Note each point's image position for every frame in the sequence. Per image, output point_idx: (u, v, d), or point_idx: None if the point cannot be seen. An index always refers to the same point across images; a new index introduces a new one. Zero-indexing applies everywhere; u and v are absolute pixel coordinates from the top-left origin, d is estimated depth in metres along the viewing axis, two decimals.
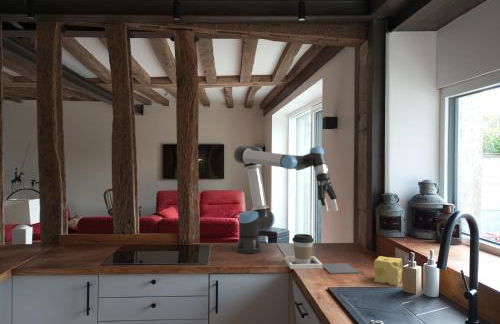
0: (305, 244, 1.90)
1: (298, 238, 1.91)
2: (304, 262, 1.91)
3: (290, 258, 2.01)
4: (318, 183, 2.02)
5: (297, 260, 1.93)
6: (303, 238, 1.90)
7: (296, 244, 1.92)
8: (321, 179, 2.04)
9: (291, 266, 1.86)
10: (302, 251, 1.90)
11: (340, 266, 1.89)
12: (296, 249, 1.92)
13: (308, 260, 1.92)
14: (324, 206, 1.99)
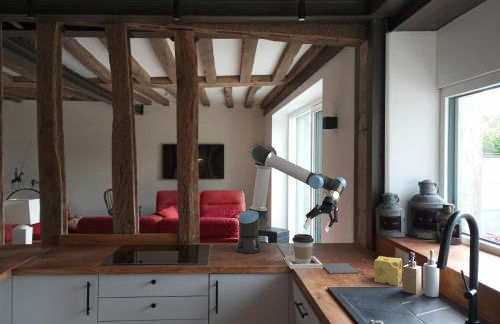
0: (305, 244, 1.90)
1: (298, 238, 1.91)
2: (304, 262, 1.91)
3: (290, 258, 2.01)
4: (336, 208, 2.05)
5: (297, 260, 1.93)
6: (303, 238, 1.90)
7: (296, 244, 1.92)
8: (334, 205, 2.09)
9: (291, 266, 1.86)
10: (302, 251, 1.90)
11: (340, 266, 1.89)
12: (296, 249, 1.92)
13: (308, 260, 1.92)
14: (328, 227, 1.98)
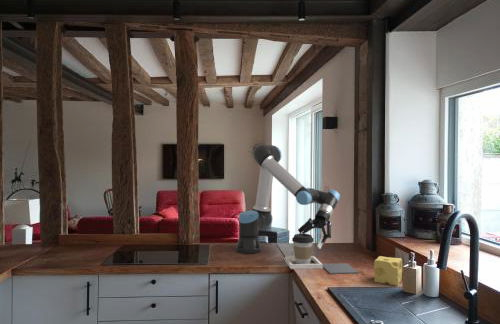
0: (305, 244, 1.90)
1: (298, 239, 1.91)
2: (304, 262, 1.91)
3: (290, 258, 2.01)
4: (330, 222, 1.99)
5: (297, 260, 1.93)
6: (303, 238, 1.90)
7: (296, 244, 1.91)
8: (327, 220, 2.02)
9: (291, 266, 1.86)
10: (302, 251, 1.90)
11: (340, 266, 1.89)
12: (296, 249, 1.92)
13: (308, 260, 1.92)
14: (321, 243, 1.92)
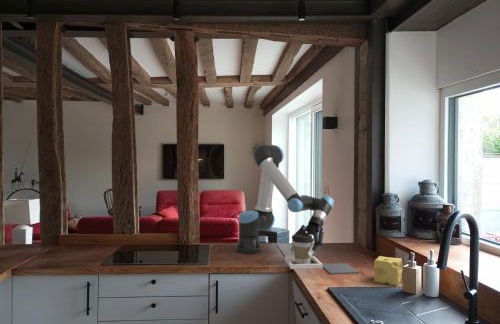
0: (305, 244, 1.90)
1: (298, 238, 1.91)
2: (304, 262, 1.91)
3: (290, 258, 2.01)
4: (322, 230, 1.96)
5: (297, 260, 1.92)
6: (303, 238, 1.90)
7: (296, 244, 1.91)
8: (320, 226, 1.99)
9: (291, 266, 1.86)
10: (302, 251, 1.90)
11: (340, 266, 1.89)
12: (296, 249, 1.92)
13: (308, 260, 1.92)
14: (312, 250, 1.90)
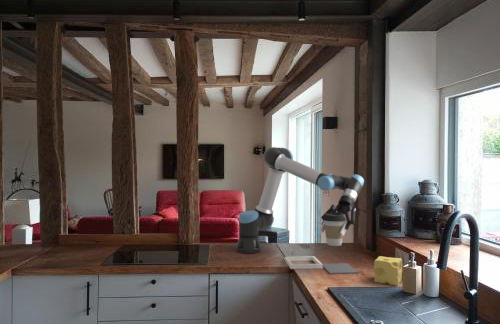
0: (338, 223, 1.82)
1: (330, 217, 1.83)
2: (336, 242, 1.83)
3: (290, 258, 2.01)
4: (354, 208, 1.88)
5: (329, 240, 1.85)
6: (335, 217, 1.83)
7: (328, 223, 1.84)
8: (352, 205, 1.92)
9: (291, 266, 1.86)
10: (334, 230, 1.83)
11: (340, 266, 1.89)
12: (328, 228, 1.84)
13: (340, 240, 1.84)
14: (344, 229, 1.82)
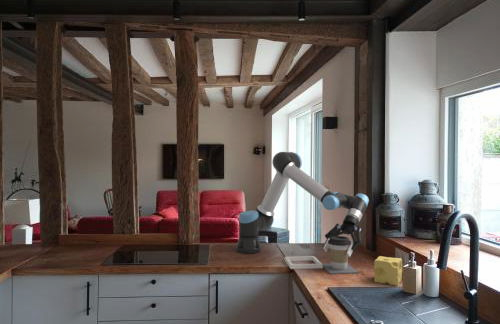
0: (343, 247, 1.81)
1: (335, 241, 1.82)
2: (342, 266, 1.82)
3: (290, 258, 2.01)
4: (359, 228, 1.87)
5: (334, 264, 1.84)
6: (341, 241, 1.82)
7: (333, 247, 1.83)
8: (356, 225, 1.91)
9: (291, 266, 1.86)
10: (340, 254, 1.82)
11: None
12: (333, 252, 1.83)
13: (345, 263, 1.83)
14: (351, 250, 1.81)
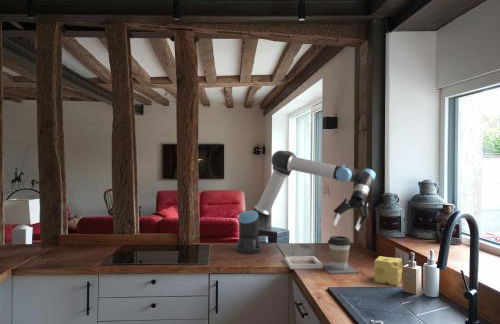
0: (343, 247, 1.81)
1: (335, 241, 1.82)
2: (342, 266, 1.82)
3: (290, 258, 2.01)
4: (367, 203, 1.97)
5: (334, 264, 1.84)
6: (341, 241, 1.82)
7: (333, 247, 1.83)
8: (364, 200, 2.00)
9: (291, 266, 1.86)
10: (340, 254, 1.82)
11: None
12: (333, 252, 1.83)
13: (345, 263, 1.83)
14: (359, 225, 1.92)
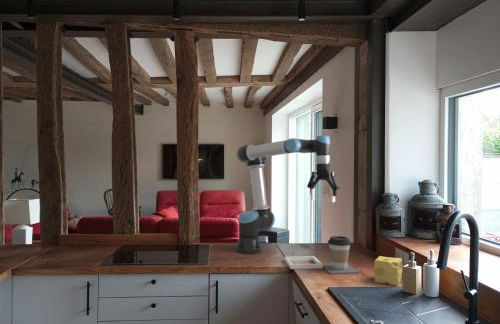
0: (343, 247, 1.81)
1: (335, 241, 1.82)
2: (342, 266, 1.82)
3: (290, 258, 2.01)
4: (332, 173, 2.03)
5: (334, 264, 1.84)
6: (341, 241, 1.82)
7: (333, 247, 1.83)
8: (329, 169, 2.06)
9: (291, 266, 1.86)
10: (340, 254, 1.82)
11: None
12: (333, 252, 1.83)
13: (345, 263, 1.83)
14: (333, 197, 2.03)
